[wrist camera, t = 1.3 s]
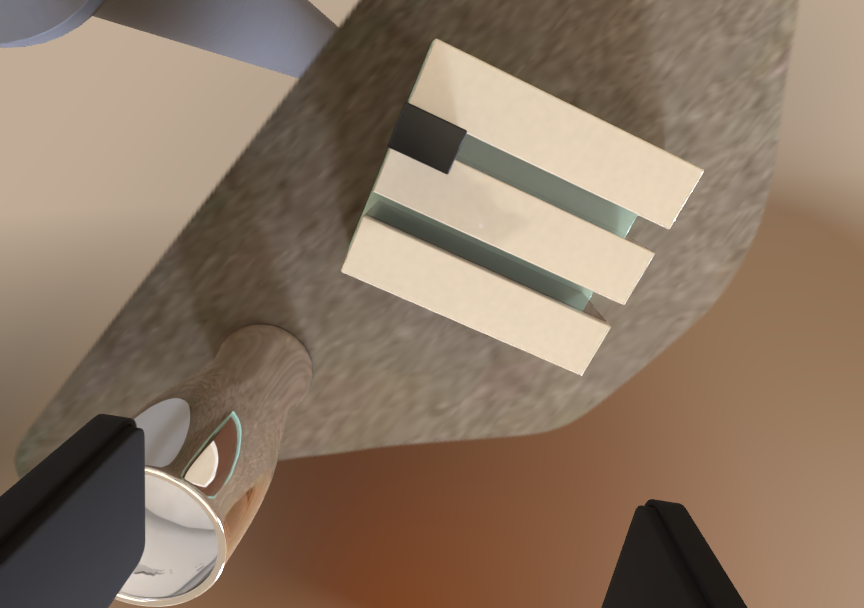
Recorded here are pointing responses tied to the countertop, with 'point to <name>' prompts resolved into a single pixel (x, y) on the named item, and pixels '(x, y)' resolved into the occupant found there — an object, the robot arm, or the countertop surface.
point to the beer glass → (213, 460)
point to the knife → (427, 138)
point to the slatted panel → (516, 212)
